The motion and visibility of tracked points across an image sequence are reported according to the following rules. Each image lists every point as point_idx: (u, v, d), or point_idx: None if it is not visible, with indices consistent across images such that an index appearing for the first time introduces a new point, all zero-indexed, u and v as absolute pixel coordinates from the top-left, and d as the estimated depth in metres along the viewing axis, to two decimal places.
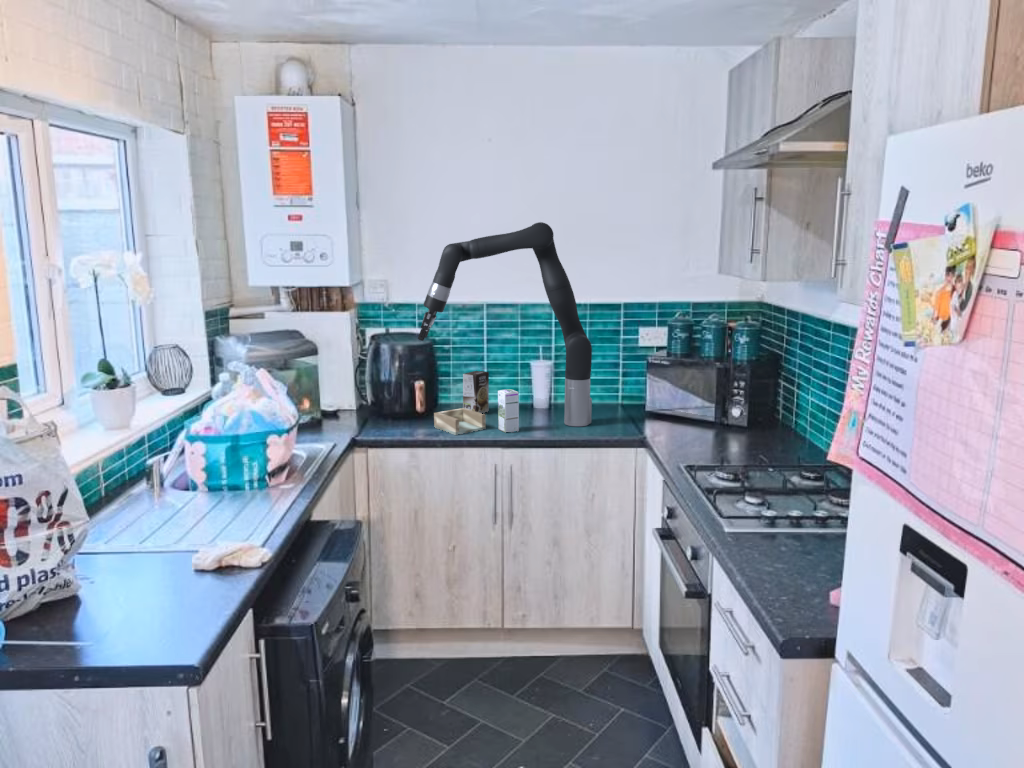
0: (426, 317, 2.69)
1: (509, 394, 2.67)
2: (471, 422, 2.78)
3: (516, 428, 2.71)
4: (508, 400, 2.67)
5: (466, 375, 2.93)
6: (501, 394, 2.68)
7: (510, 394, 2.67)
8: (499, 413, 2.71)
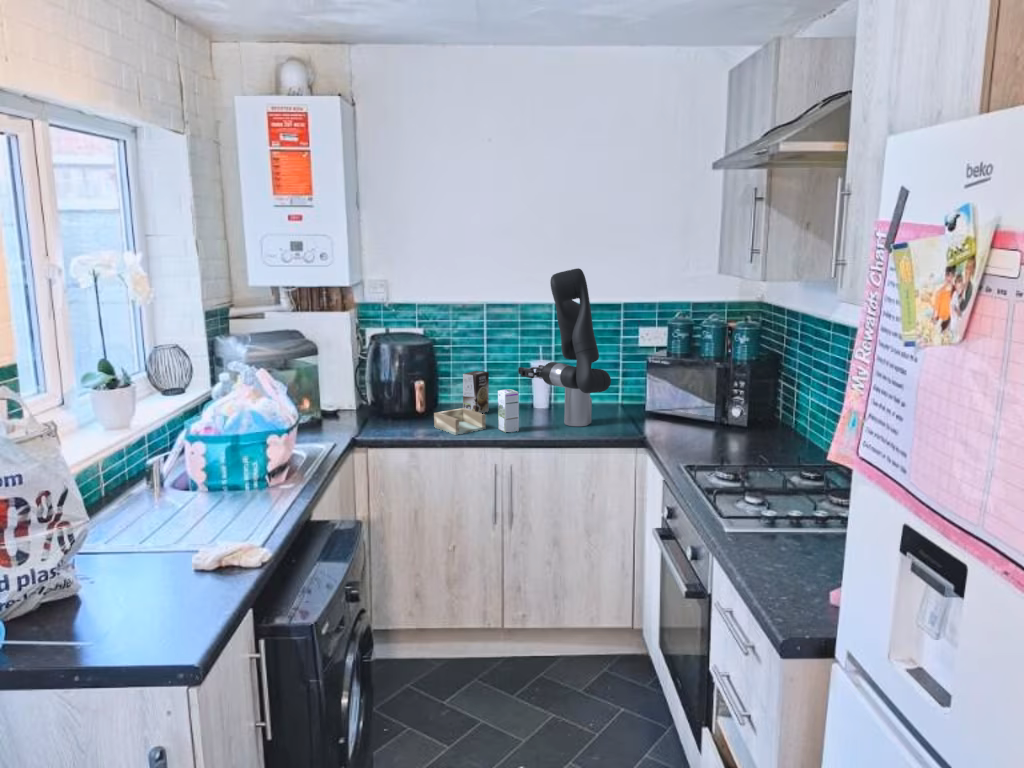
0: None
1: (509, 394, 2.67)
2: (471, 422, 2.78)
3: (516, 428, 2.71)
4: (508, 400, 2.67)
5: (466, 375, 2.93)
6: (501, 394, 2.68)
7: (510, 394, 2.67)
8: (499, 413, 2.71)
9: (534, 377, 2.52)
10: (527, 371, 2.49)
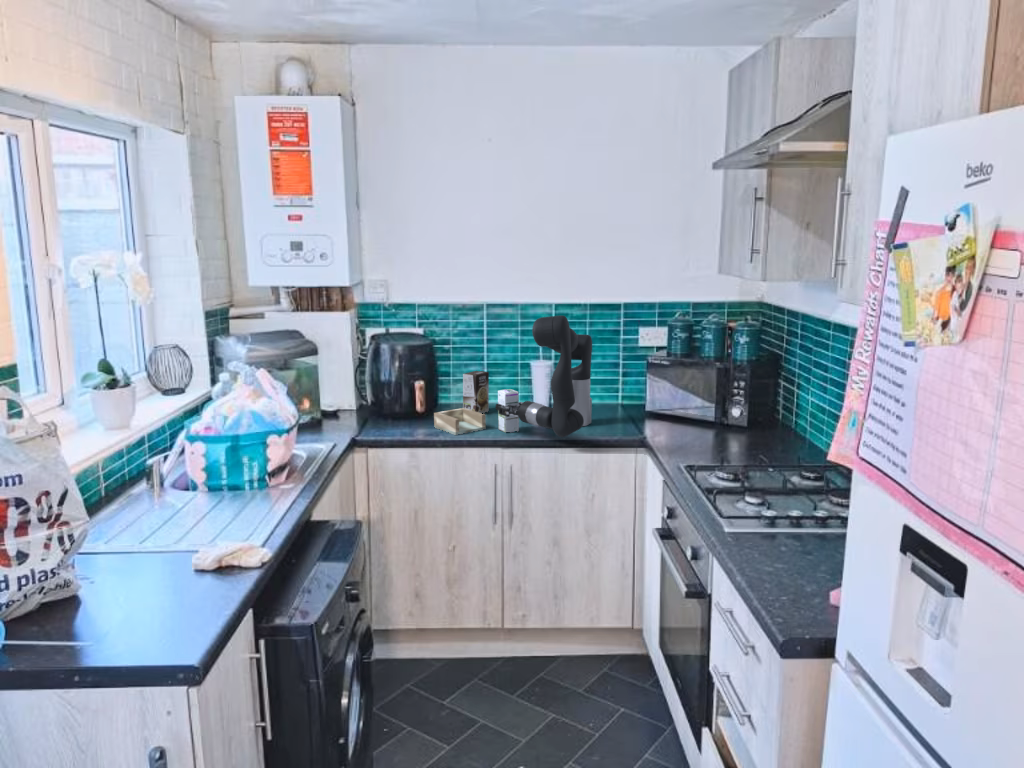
0: None
1: (509, 394, 2.67)
2: (471, 422, 2.78)
3: (516, 428, 2.71)
4: (508, 400, 2.67)
5: (466, 375, 2.93)
6: (501, 394, 2.68)
7: (510, 394, 2.67)
8: None
9: (510, 414, 2.65)
10: (503, 409, 2.62)
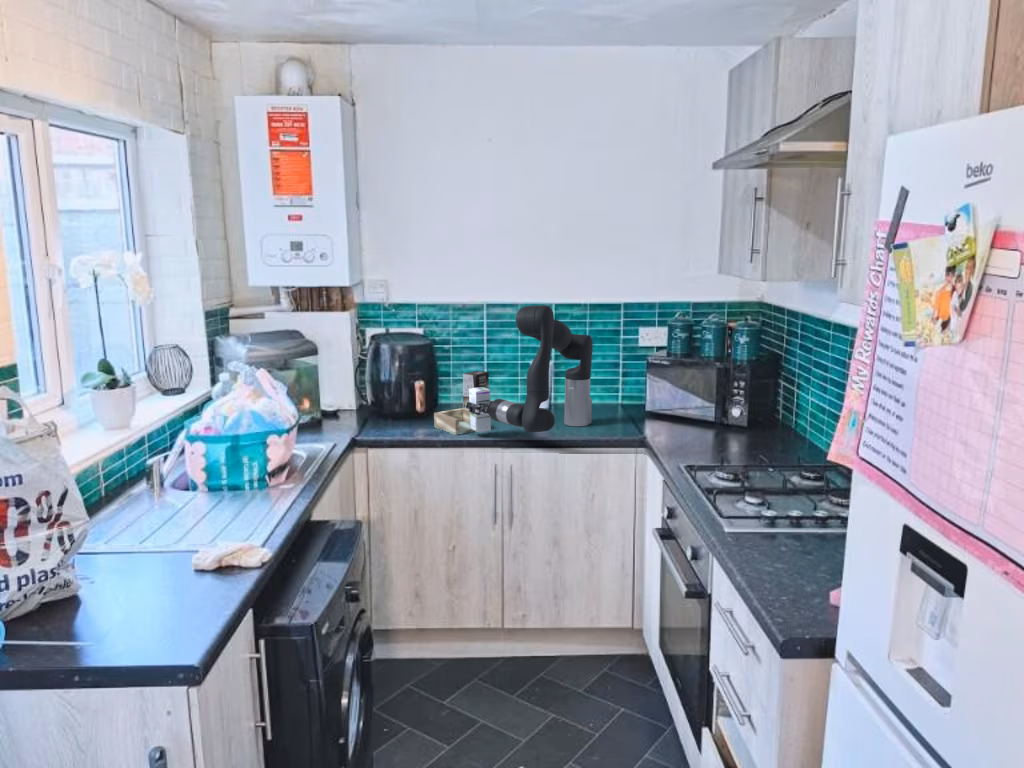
0: None
1: (480, 392, 2.60)
2: None
3: (488, 427, 2.63)
4: (479, 398, 2.60)
5: (466, 375, 2.93)
6: (472, 392, 2.61)
7: (482, 392, 2.60)
8: (470, 412, 2.64)
9: None
10: (474, 407, 2.55)
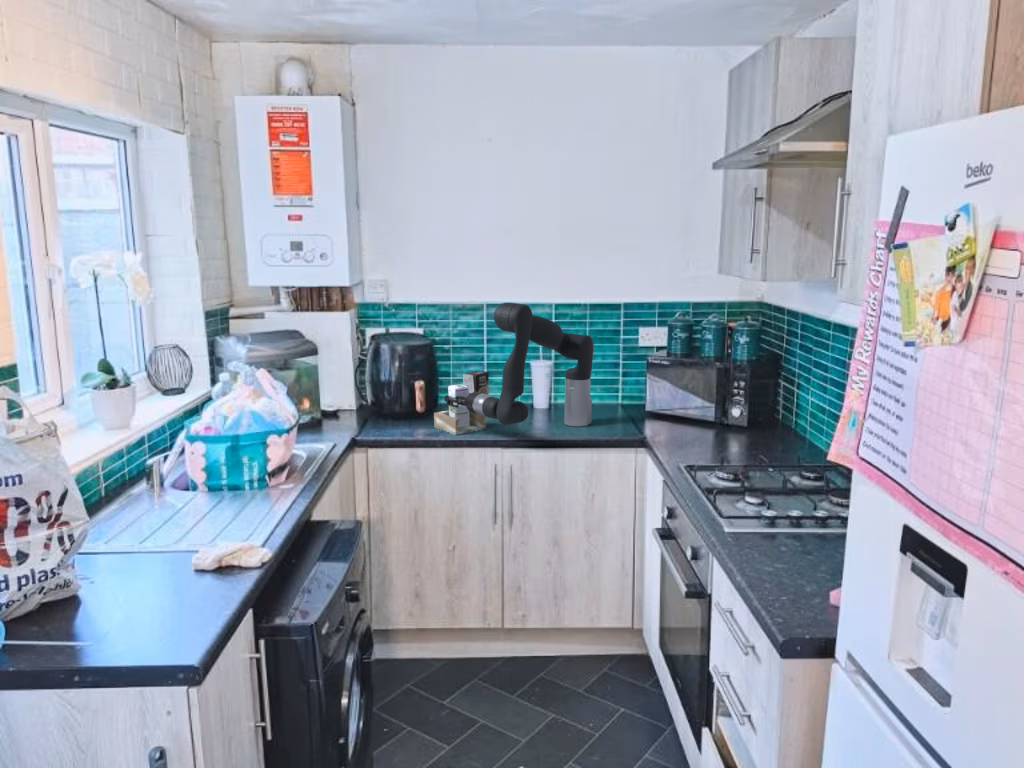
0: None
1: (459, 389, 2.70)
2: (471, 422, 2.78)
3: (467, 423, 2.74)
4: (458, 395, 2.70)
5: (466, 375, 2.93)
6: (451, 389, 2.71)
7: (460, 389, 2.70)
8: (450, 408, 2.74)
9: (459, 405, 2.68)
10: (452, 400, 2.64)
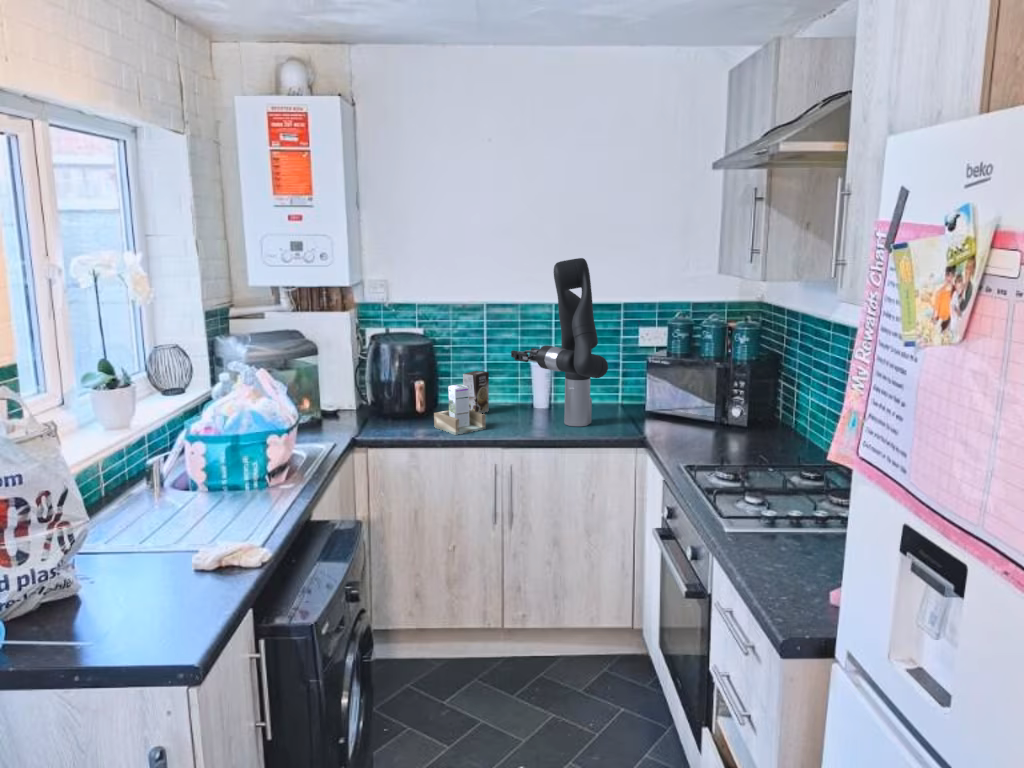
0: None
1: (459, 389, 2.70)
2: (471, 422, 2.78)
3: (467, 423, 2.74)
4: (458, 395, 2.70)
5: (466, 375, 2.93)
6: (451, 389, 2.71)
7: (461, 389, 2.70)
8: (450, 408, 2.74)
9: None
10: (521, 355, 2.44)
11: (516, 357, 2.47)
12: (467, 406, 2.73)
